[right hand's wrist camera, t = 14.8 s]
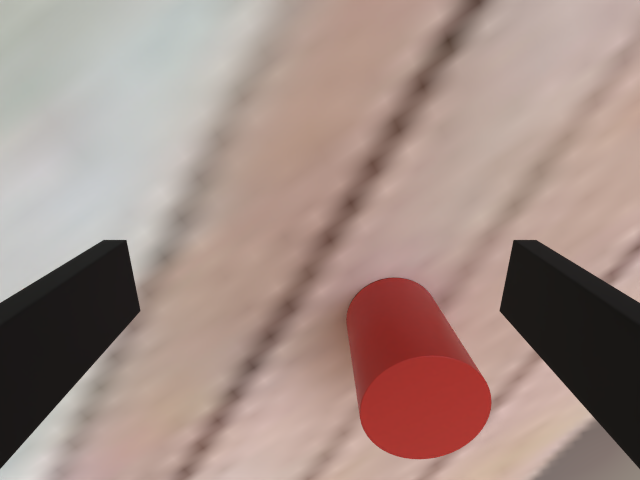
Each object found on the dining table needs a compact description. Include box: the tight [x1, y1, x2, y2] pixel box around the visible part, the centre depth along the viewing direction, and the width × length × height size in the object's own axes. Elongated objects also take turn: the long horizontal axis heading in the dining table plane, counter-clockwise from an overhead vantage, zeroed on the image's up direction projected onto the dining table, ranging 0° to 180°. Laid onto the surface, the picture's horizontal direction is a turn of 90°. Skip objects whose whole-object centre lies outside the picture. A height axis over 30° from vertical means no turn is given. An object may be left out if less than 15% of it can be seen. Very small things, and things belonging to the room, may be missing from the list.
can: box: [346, 278, 491, 459], centre depth 24 cm, size 7×7×10 cm
